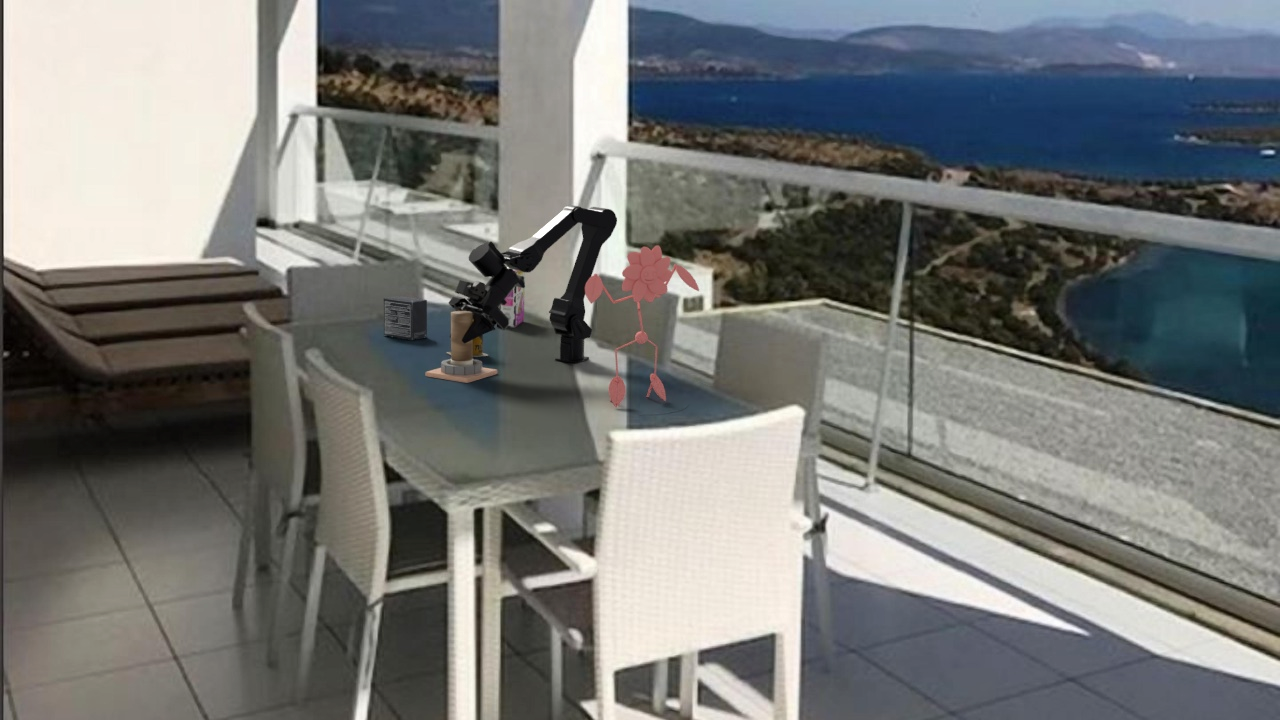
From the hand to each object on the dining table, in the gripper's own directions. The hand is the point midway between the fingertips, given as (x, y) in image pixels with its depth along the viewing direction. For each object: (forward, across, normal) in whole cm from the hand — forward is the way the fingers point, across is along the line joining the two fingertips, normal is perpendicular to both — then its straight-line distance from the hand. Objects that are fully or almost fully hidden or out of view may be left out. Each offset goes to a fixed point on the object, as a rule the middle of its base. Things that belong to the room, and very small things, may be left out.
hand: (456, 340), depth 302 cm
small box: (-3, -48, +16) cm, 51 cm away
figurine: (-7, +47, +19) cm, 51 cm away
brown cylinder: (+4, 0, +6) cm, 7 cm away
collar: (+5, 0, +7) cm, 9 cm away
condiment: (-4, -20, +17) cm, 26 cm away
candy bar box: (-28, -49, +40) cm, 69 cm away
